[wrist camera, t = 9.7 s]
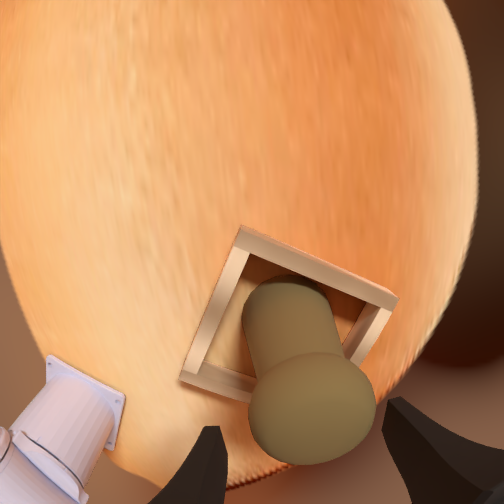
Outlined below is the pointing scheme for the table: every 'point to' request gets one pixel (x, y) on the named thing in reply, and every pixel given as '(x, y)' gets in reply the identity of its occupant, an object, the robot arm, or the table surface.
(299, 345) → the cork
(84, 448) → the robot arm
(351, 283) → the open square wooden box
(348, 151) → the table surface
